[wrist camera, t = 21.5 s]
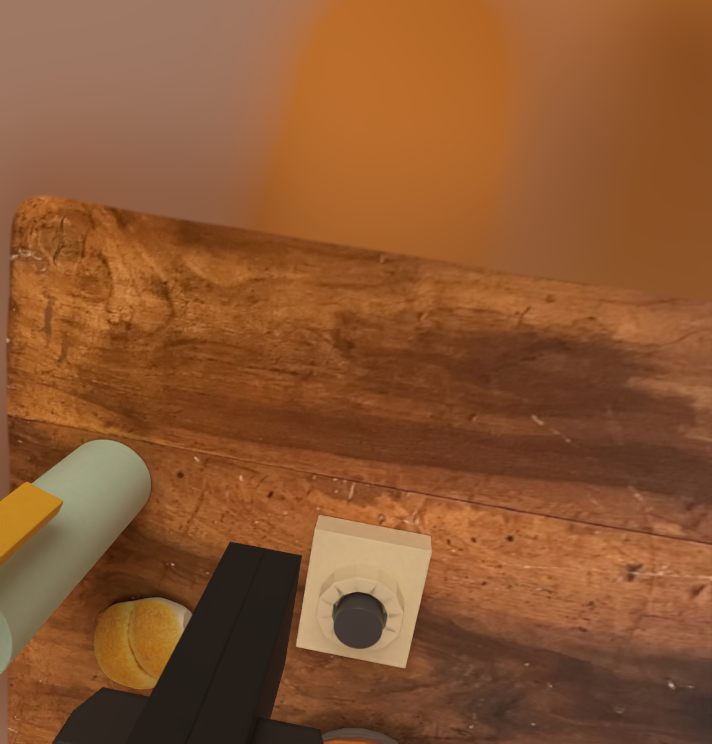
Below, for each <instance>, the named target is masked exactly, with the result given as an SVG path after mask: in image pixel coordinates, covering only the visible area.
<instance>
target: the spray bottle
mask: <svg viewBox="0 0 712 744" xmlns="http://www.w3.org/2000/svg"><path fill="white" fill-rule="evenodd" d="M32 485H34V486H36V487H38V488H40V489H42V490H44V491H46V492H47V493H49V494H51V495H53V496H55V497H57V498H59V499H61V500H63V504H62V506H61V508H60V511H59V513H58V514H57V515H56V516H55V517H54V518H53V519H52V520H51V521H49V522H48V523H47V524H46V525H45V526H44V527H43V528H42V529H41V530H40V531H38V532H37V533H36V534H35V535H34V536H33V537H32V538H31V539H30V540H29V541H27V542H26V543H25V544H24V545H23V546H22V547H21V548H20V549H19V550H18V551H16V552H15V553H14V554H13V555H12V556H11V557H10V558H9V559H8V560H7V561H6V562H4V563H3V564H2V565H1V566H0V674H2V673H3V671H4V670H5V669H6V668H7V667H8V665H9V664H10V663H11V662H12V661H13V660H14V658H15V657H16V656H17V655H18V654H19V653H20V651H21V650H22V649H23V648H24V647H25V646H26V644H27V643H28V642H29V641H30V640H31V638H32V637H33V636H34V635H35V634H36V633H37V631H38V630H39V629H40V628H41V627H42V626H43V624H44V623H45V622H46V621H47V620H48V618H49V617H50V616H51V615H52V614H53V613H54V611H55V610H56V609H57V608H58V607H59V606H60V604H61V603H62V602H63V601H64V600H65V599H66V597H67V596H68V595H69V594H70V593H71V591H72V590H73V589H74V588H75V587H76V586H77V584H78V583H79V582H80V581H81V580H82V579H83V577H84V576H85V575H86V574H87V573H88V571H89V570H90V569H91V568H92V567H93V566H94V564H95V563H96V562H97V561H98V560H99V559H100V557H101V556H102V555H103V554H104V553H105V552H106V550H107V549H108V548H109V547H110V546H111V544H112V543H113V542H114V541H115V540H116V539H117V537H118V536H119V535H120V534H121V533H122V532H123V530H124V529H125V528H126V527H127V526H128V524H129V523H130V522H131V521H132V520H133V519H134V517H135V516H136V515H137V514H138V513H139V512H140V510H141V509H142V508H143V507H144V506H145V504H146V503H147V501H148V499H149V496H150V492H151V478H150V474H149V471H148V469H147V467H146V465H145V463H144V462H143V460H142V459H141V458H140V456H139V455H138V454H137V453H136V452H134V451H133V450H132V449H130V448H129V447H127V446H126V445H123V444H121V443H119V442H116V441H112V440H93V441H90V442H87V443H85V444H83V445H81V446H80V447H78V448H77V449H76V450H75V451H73V452H72V453H71V454H69V455H68V456H67V457H65V458H64V459H63V460H62V461H60V462H59V463H58V464H56V465H55V466H54V467H52V468H51V469H50V470H49V471H47V472H46V473H45V474H43V475H42V476H41V477H39V478H38V479H37V480H36V481H34V482H33V483H32Z"/></svg>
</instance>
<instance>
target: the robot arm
mask: <svg viewBox="0 0 712 744" xmlns="http://www.w3.org/2000/svg"><path fill="white" fill-rule="evenodd" d="M301 558H302V556H301V555H296V554H291V553H286V552H281V551H275V550H270V549H265V548H260V547H255V546H250V545H244V544H239V543H234V542H230V543H229V545H228V547H227V549H226V551H225V552H224V554H223V556H222V558H221V560H220V562H219V564H218V566H217V568H216V570H215V572H214V574H213V576H212V577H211V579H210V581H209V583H208V585H207V587H206V589H205V591H204V593H203V595H202V597H201V599H200V601H199V603H198V604H197V606H196V608H195V610H194V612H193V614H192V616H191V618H190V620H189V622H188V624H187V626H186V628H185V629H184V631H183V633H182V635H181V637H180V639H179V641H178V643H177V645H176V647H175V649H174V651H173V653H172V654H171V656H170V658H169V660H168V662H167V664H166V666H165V668H164V670H163V672H162V674H161V676H160V678H159V679H158V681H157V683H156V685H155V687H154V689H153V691H152V693H151V695H150V697H148V696H143V695H138V694H133V693H128V692H123V691H118V690H114V689H109V688H104V687H103V688H101V689H100V690H99V691H98V692H96V693H95V694H94V695H92V696H91V697H90V698H89V699H87V700H86V701H85V702H84V703H82V704H81V705H80V706H79V707H77V708H76V709H75V710H74V711H73V712H72V713H71V715H70V716H69V718H68V720H67V721H66V723H65V724H64V726H63V727H62V729H61V730H60V732H59V733H58V735H57V736H56V738H55V739H54V741H53V743H52V744H324V742H323V739H322V735H321V731H320V729H315V728H310V727H305V726H300V725H296V724H291V723H286V722H281V721H276V720H271V719H270V717H271V713H272V710H273V706H274V702H275V699H276V695H277V691H278V688H279V684H280V680H281V676H282V673H283V669H284V665H285V660H286V654H287V647H288V641H289V635H290V628H291V622H292V615H293V609H294V603H295V596H296V590H297V584H298V577H299V571H300V564H301Z"/></svg>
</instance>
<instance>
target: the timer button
mask: <svg viewBox="0 0 712 744" xmlns="http://www.w3.org/2000/svg"><path fill="white" fill-rule="evenodd" d="M382 630H383V609H382V607H381V605H380V604H379V602H378V601H377V600H376V599H374V598H373V597H371V596H369V595H366V594H361V593H355V594H351V595H348V596H346V597H344V598H343V599H342V600H341V601H340V602H339V604H338V606H337V609H336V614H335V620H334V632H335V635H336V637H337V638H338V639H339V640H340V642H342V643H343V644H344V645H346V646H348V647H351V648H355V649H364V648H368V647H371V646H373V645H374V644H376V643H377V642H378V641H379V639H380V637H381V635H382Z"/></svg>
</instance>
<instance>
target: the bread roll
mask: <svg viewBox="0 0 712 744" xmlns="http://www.w3.org/2000/svg"><path fill="white" fill-rule="evenodd" d="M191 616H192V613H191V612H190V611H189V610H188V609H187V608H186V607H184V606H182V605H180V604H178V603H175V602H173V601H170V600H167V599H164V598H160V597H155V598H145V599H140V600H136V601H128V602H123V603H117V604H114V605H112V606H110V607H109V608H108V609H107V610H106V611H105V612H104V613H103V615H102V617H101V618H100V620H99V622H98V624H97V627H96V630H95V634H94V653H95V657H96V660H97V662H98V665H99V666H100V668H101V670H102V671H103V672H104V674H105V675H106V676H107V677H109V678H110V679H112V680H113V681H115V682H117V683H119V684H122V685H125V686H128V687H131V688H136V689H150V688H154V687H155V685H156V683H157V681H158V679H159V678H160V676H161V674H162V672H163V670H164V668H165V666H166V664H167V662H168V660H169V658H170V656H171V654H172V653H173V651H174V649H175V647H176V645H177V643H178V641H179V639H180V637H181V635H182V633H183V631H184V629H185V628H186V626H187V624H188V622H189V620H190V618H191Z"/></svg>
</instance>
